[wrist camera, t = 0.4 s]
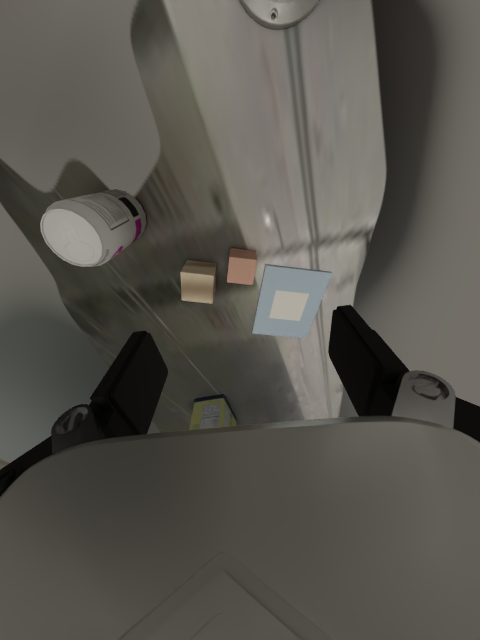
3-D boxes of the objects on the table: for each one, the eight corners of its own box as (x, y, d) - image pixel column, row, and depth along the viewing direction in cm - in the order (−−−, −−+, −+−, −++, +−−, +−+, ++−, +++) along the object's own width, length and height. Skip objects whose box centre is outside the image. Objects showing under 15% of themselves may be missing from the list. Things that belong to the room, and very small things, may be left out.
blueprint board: (265, 264, 44) (265, 265, 44) (331, 272, 45) (332, 273, 45) (252, 331, 55) (252, 333, 54) (305, 336, 56) (306, 338, 55)
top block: (230, 247, 42) (229, 256, 38) (255, 250, 43) (257, 260, 39) (228, 271, 45) (226, 282, 41) (251, 274, 46) (252, 285, 42)
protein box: (210, 422, 81) (204, 469, 68) (194, 398, 72) (184, 448, 59) (237, 418, 79) (236, 466, 67) (223, 393, 70) (220, 443, 58)
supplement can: (154, 236, 41) (118, 267, 29) (112, 240, 42) (60, 273, 29) (137, 186, 36) (86, 198, 24) (91, 192, 37) (18, 207, 25)
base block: (187, 259, 44) (180, 272, 39) (216, 263, 44) (213, 275, 39) (187, 286, 47) (181, 300, 43) (215, 289, 48) (212, 303, 43)
